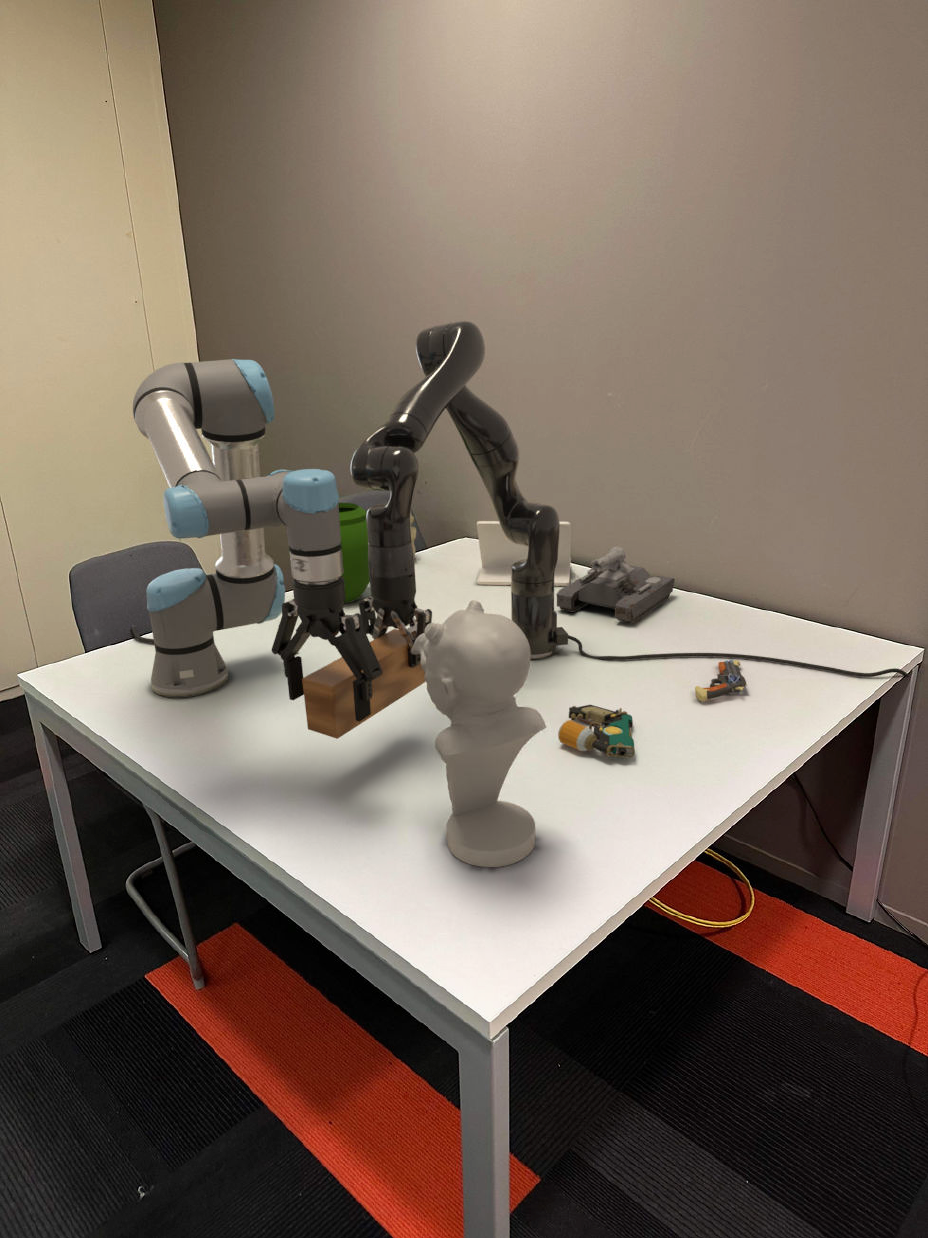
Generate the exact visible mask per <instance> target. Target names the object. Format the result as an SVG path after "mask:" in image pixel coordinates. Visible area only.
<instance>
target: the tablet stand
mask: <svg viewBox="0 0 928 1238" xmlns="http://www.w3.org/2000/svg"><path fill="white" fill-rule="evenodd" d="M559 522H560V532H559V546H558V560H557V564H556V568H555V572H554V587H556V586H557V587H566V586H567V585H569V584H570V580H571V579H570V578H571V565H572V564H571V560H572V558H571V522H569V521H559ZM476 531H477V537H478V544H479V551H480V557H481V558H480V559H481V570H480V573H479V575H478V577H477V580H476V581H477V582H476V584H478V585H484V586H485V585H486V586H487V585H489V586H490V585H491V586H511V567H512V564H513V563H515V562H516V561H519V560H522V559H527V557H528V546H524V545H519V544H516V543H513V542H512V541H510V540H509V539H508V538H507V537H506V536H505V534H504V532H503V530H502V528H501V525H500V522H499V520H477V522H476Z"/></svg>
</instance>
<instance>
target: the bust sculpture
mask: <svg viewBox="0 0 928 1238" xmlns="http://www.w3.org/2000/svg"><path fill="white" fill-rule="evenodd" d="M411 653H412V654H421V667H422V669H423V670H424V671H425V683H426V690H427V693H428V696H429V698H430V701H431V702H432V704H434V706H435V708H436V710H438V711H439V712H440V713H441V714H442V716H446V717H447V718H448V719H449V720H450V726H448V727H446V728H445V729H443V730H442V731H441V732H440V733H439V734H438V735H436V738H435V741H434V748H435V749H436V752H437V753H438V755H439V757H440V758H441V760H442V761H443V762H444V763H445V771H446V781H447V790H448V796H449V800H450V803H451V810H452V813H451V814H450V815H449V817H448V819H447V822H446V844H447V847H448V849H449V851H450V852H451V854H452V855H453V856H454V857H456V858H457V859H459V860H460V861H462V862H463V863H466V864H469V865H471V866H476V867H483V868H498V867H505V866H509V865H512V864H517V862H520V861H521V860H523V859H525V858H527V856H528V855H530V854H531V852H532V851H533V849H535V848H534V847H535V845H536V822H535V821H536V820H535V819H534V817H533V816H532V814H531V813H530V812H529V811H528V810H526V809H525V808H524V807H522V806H520V805H517V804H515V803H513V802H509V801H504V800H499V796H500V793H501V790H502V788H503V785H504V783H505V780H506V778H507V776H508V773H509V771H510V769H511V768H512V765H513V763H514V761H515V760H516V759H517V756H518V755H519V753H520V752H521V750H522V749H523V748H524V747H525V745H526V744H527V743H528V742H529V741H530V740H531V739H532V738H533V737H535V735H537V734H538V733H539V732H541V731H544V730H545V729H546V728H547V725H546V723H545V720H544V718H543V717H542V714H541V713H540V712H539V711H538V710H537V709H535V708H533V707H530V706H518V705H517V701H516V699H517V698H516V696H515V695H516V694H517V693H519V691H521V689H522V688H523V686H524V684H525V683H526V680H527V678H528V675H529V669H530V666H531V659H530V656H531V655H530V653H531V652H530V646H529V643H528V640H527V638H526V636H525V634H524V633H523V632H522V630H521V629H520V628H519V627H518V626H517V625H516V624H515V623H514V622H513V621H512V620H511V618H508V617H507V616H504V615H503V614H502V615H501V614H496V613H485V609H484V607H483V605H482V603H481V602H480V601H478V600H473V599H472V600H470V601H469V603H468V605H467V607H466V609H460V610H457V611H455V612H453V613H451V615H449V616H448V617H447V618H446V619H445V620H444V622H442V624H441V623H435V622H432V623H430V624H428V625H427V626H426V628H425V633H423V634H421V635H419V636H418V637H417V639H416V640H415V642H414V645H413V647H412V649H411Z"/></svg>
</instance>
